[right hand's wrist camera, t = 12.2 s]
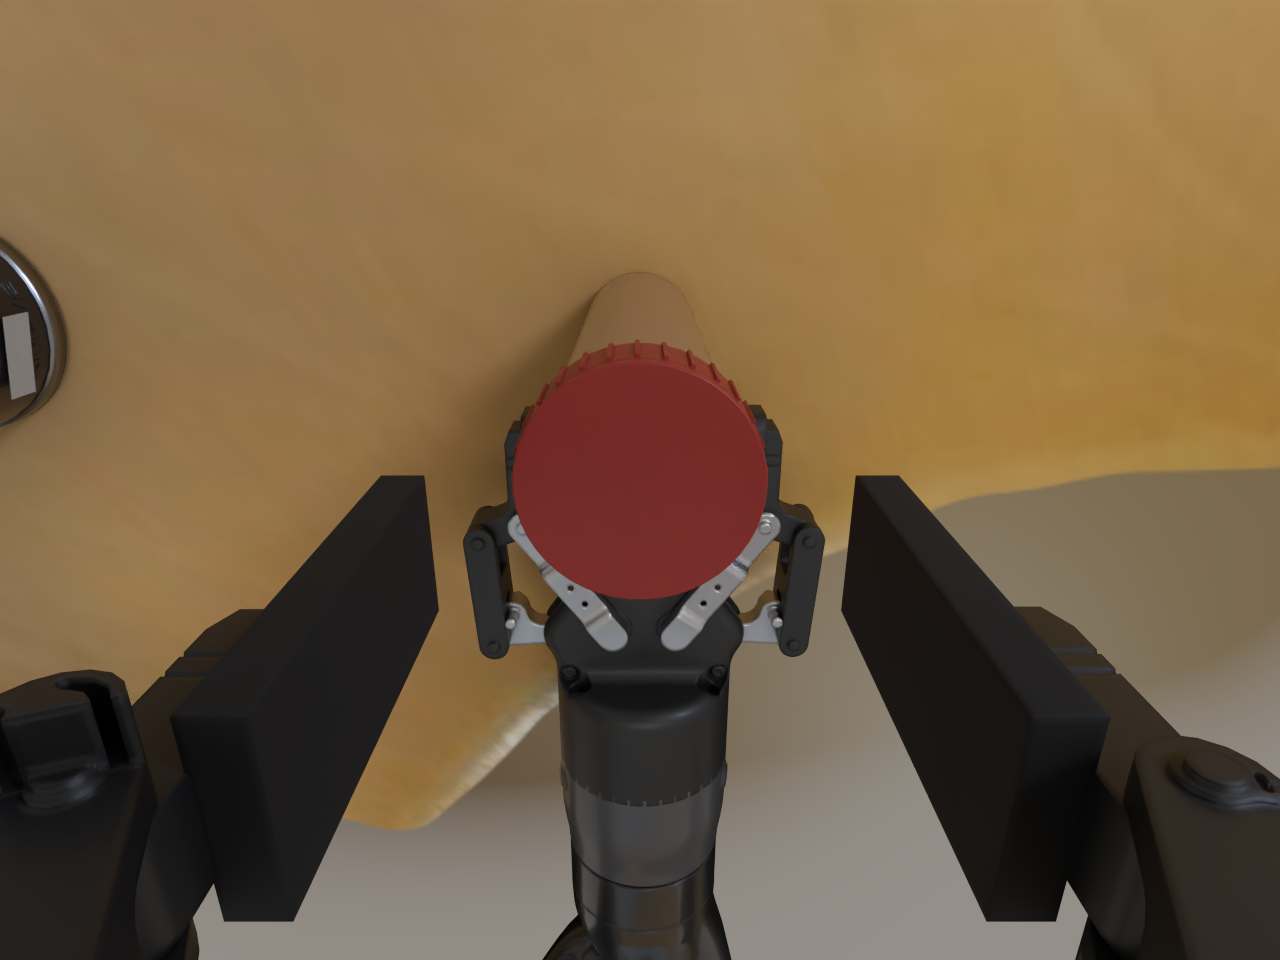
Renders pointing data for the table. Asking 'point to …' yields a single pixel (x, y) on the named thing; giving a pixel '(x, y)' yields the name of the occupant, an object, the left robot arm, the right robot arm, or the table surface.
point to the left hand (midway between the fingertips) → (644, 410)
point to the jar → (639, 317)
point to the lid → (639, 472)
